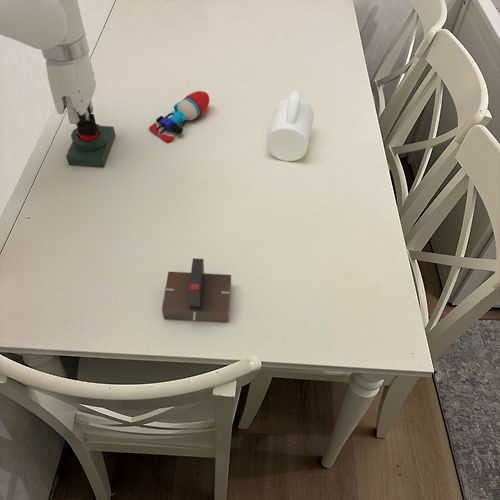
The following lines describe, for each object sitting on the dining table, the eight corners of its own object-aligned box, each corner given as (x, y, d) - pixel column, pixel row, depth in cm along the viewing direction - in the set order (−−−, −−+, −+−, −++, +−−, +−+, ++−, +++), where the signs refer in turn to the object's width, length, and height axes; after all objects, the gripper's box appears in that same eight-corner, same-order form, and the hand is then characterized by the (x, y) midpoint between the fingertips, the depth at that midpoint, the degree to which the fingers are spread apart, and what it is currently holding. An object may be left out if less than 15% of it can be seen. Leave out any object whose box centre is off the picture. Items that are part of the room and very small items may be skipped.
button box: (104, 167, 95) (100, 151, 92) (68, 165, 95) (63, 149, 92) (115, 135, 101) (112, 119, 98) (82, 132, 101) (77, 116, 98)
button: (97, 146, 95) (95, 139, 94) (78, 145, 95) (76, 138, 94) (101, 134, 97) (99, 127, 96) (83, 133, 97) (81, 126, 96)
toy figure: (171, 150, 101) (220, 109, 106) (165, 132, 97) (216, 91, 102) (148, 136, 105) (197, 97, 110) (141, 118, 101) (192, 79, 106)
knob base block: (161, 328, 74) (159, 318, 72) (170, 273, 80) (169, 262, 78) (228, 331, 74) (228, 321, 72) (232, 277, 80) (232, 266, 78)
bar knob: (194, 275, 77) (192, 257, 73) (204, 275, 77) (203, 257, 73) (190, 307, 73) (188, 290, 69) (200, 308, 73) (199, 291, 69)
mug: (264, 158, 99) (269, 108, 89) (273, 126, 105) (278, 77, 96) (304, 164, 98) (313, 115, 89) (310, 132, 104) (319, 83, 95)
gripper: (55, 20, 85) (79, 108, 100) (26, 67, 76) (58, 157, 90) (97, 23, 85) (116, 110, 100) (74, 71, 76) (98, 159, 90)
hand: (88, 132), depth 95 cm, fingers closed
